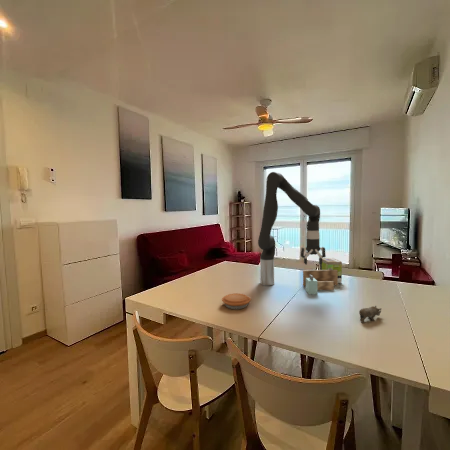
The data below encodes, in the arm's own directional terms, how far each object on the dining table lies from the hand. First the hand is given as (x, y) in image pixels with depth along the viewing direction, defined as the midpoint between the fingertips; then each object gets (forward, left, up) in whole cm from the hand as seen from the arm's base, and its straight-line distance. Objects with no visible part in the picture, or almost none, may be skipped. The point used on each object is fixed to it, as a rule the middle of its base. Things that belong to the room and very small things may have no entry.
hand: (313, 264), depth 153 cm
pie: (-47, -21, -17) cm, 55 cm away
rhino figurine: (+14, -40, -17) cm, 45 cm away
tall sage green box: (-1, -2, -17) cm, 17 cm away
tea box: (+20, +23, -17) cm, 35 cm away
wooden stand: (+9, +8, -17) cm, 20 cm away
